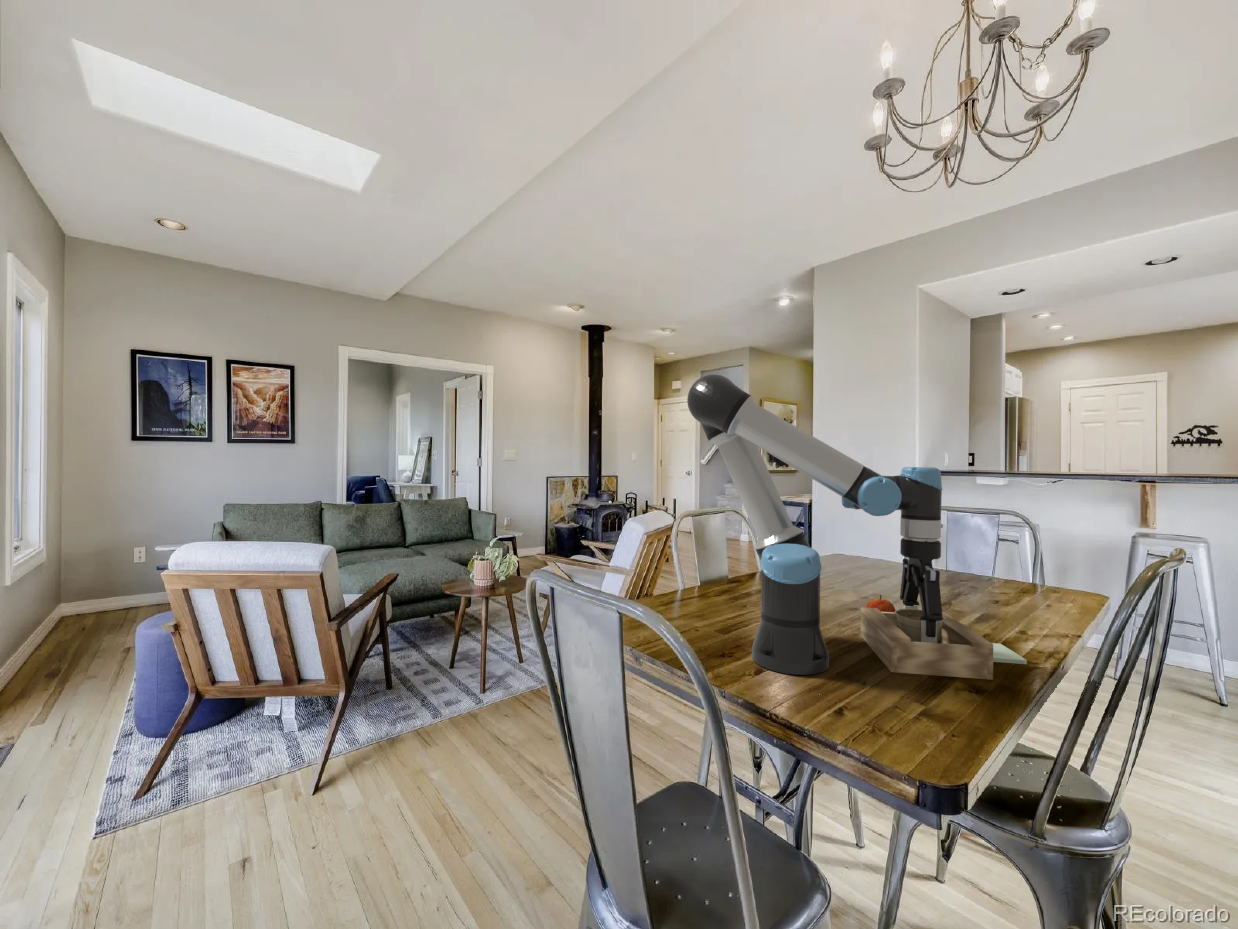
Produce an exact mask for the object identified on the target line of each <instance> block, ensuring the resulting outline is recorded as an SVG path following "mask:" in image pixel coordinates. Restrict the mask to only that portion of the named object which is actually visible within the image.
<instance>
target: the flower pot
mask: <svg viewBox="0 0 1238 929" xmlns="http://www.w3.org/2000/svg"><path fill="white" fill-rule="evenodd" d="M895 610H896V611H895V615H897V621H898V622H899V628H900V630H902V631H903V632H904V633H905V634H906V635H907V636H908V637H909V638H910V639H911V641H913V642H921V620H920V617H923V612H922V609H918V610H917V609H904V608H902V609H901V608H900V609H895ZM932 614H933V613H932ZM942 617H943V616H942ZM944 621H945V618H944V617H943V619H942V621H940V620H939V621H937V643H939V642H938V640H939V635H940V629H941V627H942V625H943V622H944Z"/></svg>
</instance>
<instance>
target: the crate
mask: <svg viewBox="0 0 1238 929" xmlns="http://www.w3.org/2000/svg"><path fill="white" fill-rule="evenodd" d="M942 616H943V617H944V618H945V621H944V622H943V625H942V627H941V629H940V635H939V640H938V643H928V642H913V641H911V639H910V638H909V637H908V636H907V635H906V634H905V633H904V632H903V631H902V630H900V628H899V622H898V621H897V615H895V612H880V611H879V610H878V609H877V608H866V606H865V607H860V637H861V638H862V639H863V640H864V641H865V643H866V644H867V645H868V646H869V647H870V649H871V650H872V651H873V653H875V655H876V656H877V657H878V658H879V659H880V660H881V662H882V663H883V664H884V665H885V667H887V669H888V671H890V672H891V673H898V674H911V675H913V674H914V675H926V676H937V677H938V676H940V677H941V676H942V677H951V678H952V677H954V678H964V679H965V678H966V679H978V680H979V679H981V680H992V681H993V680H994V662H993V644H992V643H993V642H990V641H989V640H988V639H986V638H984V637H983V636H981V635H980V634H979V633H977V632H975V631H974V630H973V629H971V628H969V627H968V626H967V625H964V624H963V623H962V622H960V621H958V619H955V618H954V617H953V616H951V615H950V614H948V613H946V612H945V611H942Z"/></svg>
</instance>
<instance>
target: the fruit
mask: <svg viewBox="0 0 1238 929" xmlns="http://www.w3.org/2000/svg"><path fill="white" fill-rule="evenodd" d="M865 608H877V609H878V610H879V611H880V612H895V611H896V610H897V609H896V607H895V605H894V604H893V603H892V602H891V601H890V600H888V599H886V598H882V595H881V594H880V595H879V597H876V598H872V599H871V600H869V601H867V603H866V605H865Z"/></svg>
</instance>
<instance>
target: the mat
mask: <svg viewBox="0 0 1238 929" xmlns="http://www.w3.org/2000/svg"><path fill="white" fill-rule="evenodd" d="M991 643H992V644H993V663H1005V664H1018V665H1019V664H1020V665H1027V664H1028V660H1027V659H1025V657H1022V656H1021V655H1019V654H1018V653H1016V652H1015V651H1013V650H1012V649H1010V648H1008V647H1007V646H1005V645H1003V644H1002V643H995V642H991Z"/></svg>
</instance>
